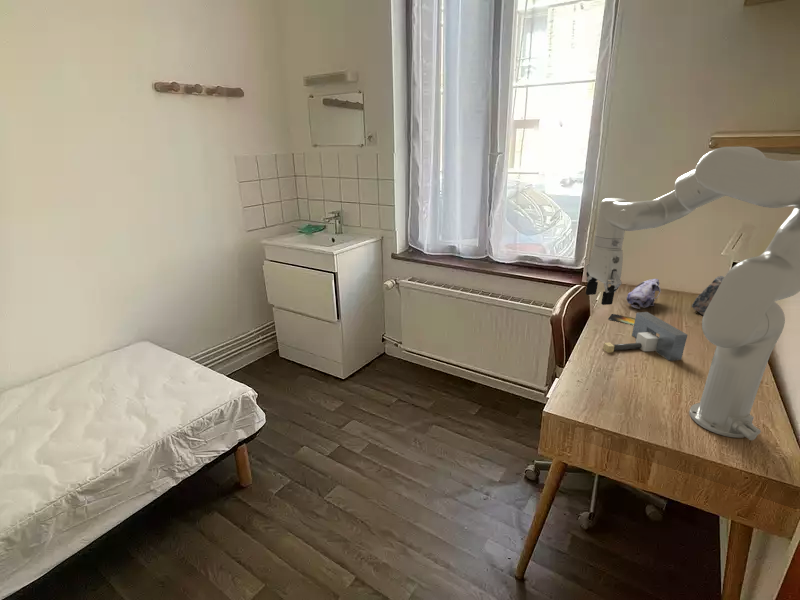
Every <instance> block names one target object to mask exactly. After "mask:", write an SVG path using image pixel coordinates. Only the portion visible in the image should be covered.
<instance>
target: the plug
mask: <svg viewBox="0 0 800 600" xmlns="http://www.w3.org/2000/svg"><path fill="white" fill-rule="evenodd" d="M658 340H659V336H658V335H657V334H656V335H655V334H653V333H651V332H642V333H638V334H637V339H636V338H635V342H633V343H618V344H617V343H615V344H612V343H611V342H610V341H609V342H603V347H602V350H604V351H605V352H606V353H609V354H610V353H614V351H620V350H622V351H623V350H624V351H625V350H635V349H636V350H639V349H640V350H641V351H643V352H654V351H655V352H656V349H657V344H658Z"/></svg>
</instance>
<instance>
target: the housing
mask: <svg viewBox="0 0 800 600" xmlns="http://www.w3.org/2000/svg"><path fill="white" fill-rule="evenodd" d="M634 318H635V323H634V326H633V327H632V328H633V329H632V332H631V336H632V337H633V336H634V337H633V338H635V340H636V339H637V334H638V333H642V332H651V333H653V334H655V335H656V336H657V334H658V335H659V336H658V337H659V340H658V344H657V349H656V351H655V353H657V354H659V355H660V356H661V357H663V358H664V359H666V360H667V361H669V362H670V361H671V362H672V361H681V360H682V358H683V355H684V354H683V353H684V350H685V347H686V346H685V345H686V342H687V339H688V334H687V333H685V332H683V331H682V330H680V329H679V328H677V327H675V326H673V325H671V324H669V323H667V322H666V321H664V320H662V319H660V318H659V317H657V316H655V315H653V314H652V313H650V312H648V311H642V312H639V311H638V312H636V314H635V317H634Z"/></svg>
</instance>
